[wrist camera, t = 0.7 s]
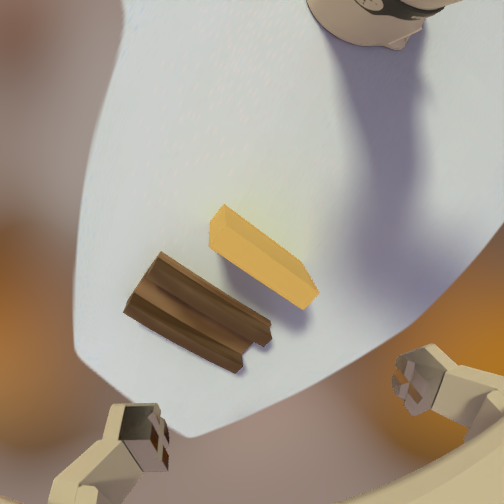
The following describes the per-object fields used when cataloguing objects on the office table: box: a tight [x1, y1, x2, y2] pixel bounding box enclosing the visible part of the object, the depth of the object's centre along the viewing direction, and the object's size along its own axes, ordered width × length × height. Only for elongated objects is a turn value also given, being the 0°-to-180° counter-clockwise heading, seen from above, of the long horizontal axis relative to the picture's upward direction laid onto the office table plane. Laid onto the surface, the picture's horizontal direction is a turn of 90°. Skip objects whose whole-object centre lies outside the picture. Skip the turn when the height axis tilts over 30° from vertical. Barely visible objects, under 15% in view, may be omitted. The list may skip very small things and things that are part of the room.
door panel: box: [209, 204, 320, 310], centre depth 38 cm, size 3×14×9 cm, turn 51°
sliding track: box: [123, 252, 272, 373], centre depth 44 cm, size 10×20×4 cm, turn 51°
